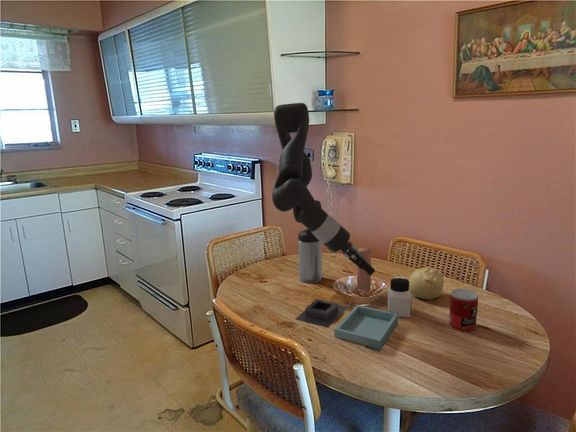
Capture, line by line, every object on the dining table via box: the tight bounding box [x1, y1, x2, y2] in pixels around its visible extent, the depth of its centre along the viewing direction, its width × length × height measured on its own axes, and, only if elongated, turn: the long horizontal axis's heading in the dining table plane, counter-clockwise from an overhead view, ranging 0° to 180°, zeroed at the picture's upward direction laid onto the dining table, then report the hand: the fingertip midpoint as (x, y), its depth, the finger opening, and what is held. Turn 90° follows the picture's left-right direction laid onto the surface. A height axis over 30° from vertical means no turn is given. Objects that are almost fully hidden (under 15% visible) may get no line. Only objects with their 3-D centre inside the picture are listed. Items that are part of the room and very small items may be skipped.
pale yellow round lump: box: [408, 266, 445, 301], centre depth 149 cm, size 12×12×11 cm
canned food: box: [448, 288, 479, 332], centre depth 128 cm, size 8×8×11 cm
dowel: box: [356, 247, 372, 291], centre depth 122 cm, size 4×4×12 cm
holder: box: [294, 298, 348, 329], centre depth 138 cm, size 16×12×4 cm
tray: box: [333, 304, 399, 353], centre depth 127 cm, size 18×14×4 cm
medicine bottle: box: [387, 276, 412, 318], centre depth 137 cm, size 7×7×12 cm
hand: (370, 269), depth 123 cm, fingers closed on dowel, 4 cm apart
